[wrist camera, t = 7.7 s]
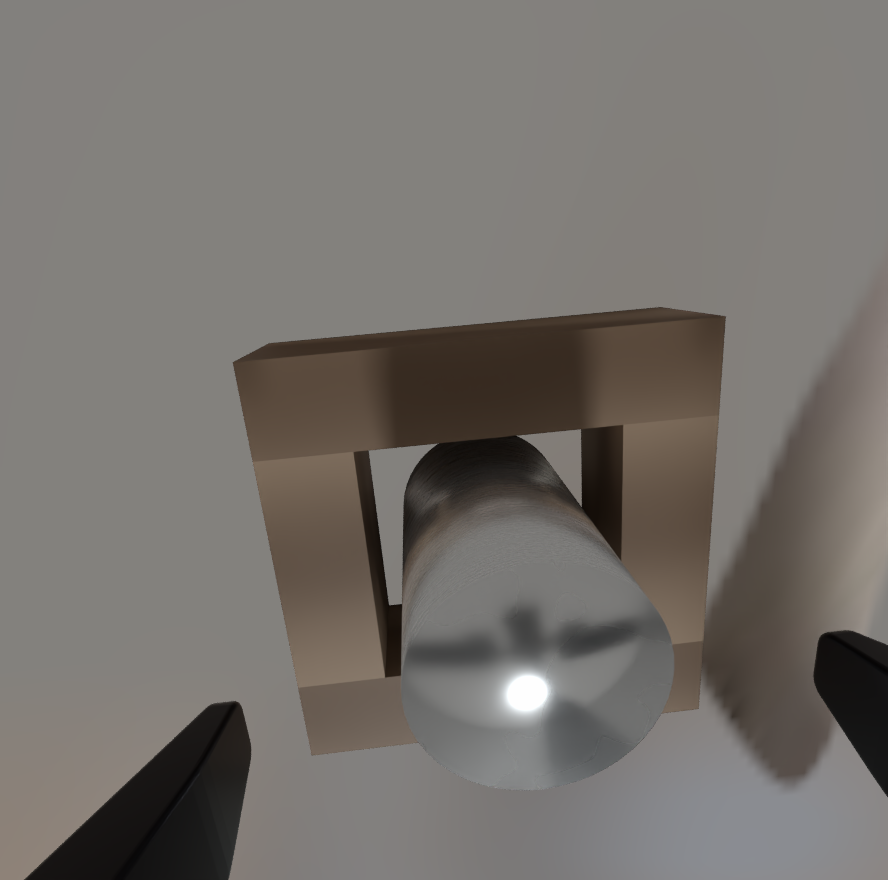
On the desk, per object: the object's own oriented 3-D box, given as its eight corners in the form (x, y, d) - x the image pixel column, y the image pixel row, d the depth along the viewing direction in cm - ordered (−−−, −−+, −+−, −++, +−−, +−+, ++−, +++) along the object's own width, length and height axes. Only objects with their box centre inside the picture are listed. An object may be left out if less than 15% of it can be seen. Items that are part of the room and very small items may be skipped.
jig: (649, 635, 17) (698, 708, 14) (327, 672, 17) (311, 755, 14) (660, 307, 14) (725, 316, 11) (269, 343, 14) (232, 362, 11)
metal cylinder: (560, 565, 16) (668, 773, 9) (411, 581, 16) (415, 804, 9) (557, 422, 15) (680, 546, 8) (395, 438, 15) (385, 579, 8)
